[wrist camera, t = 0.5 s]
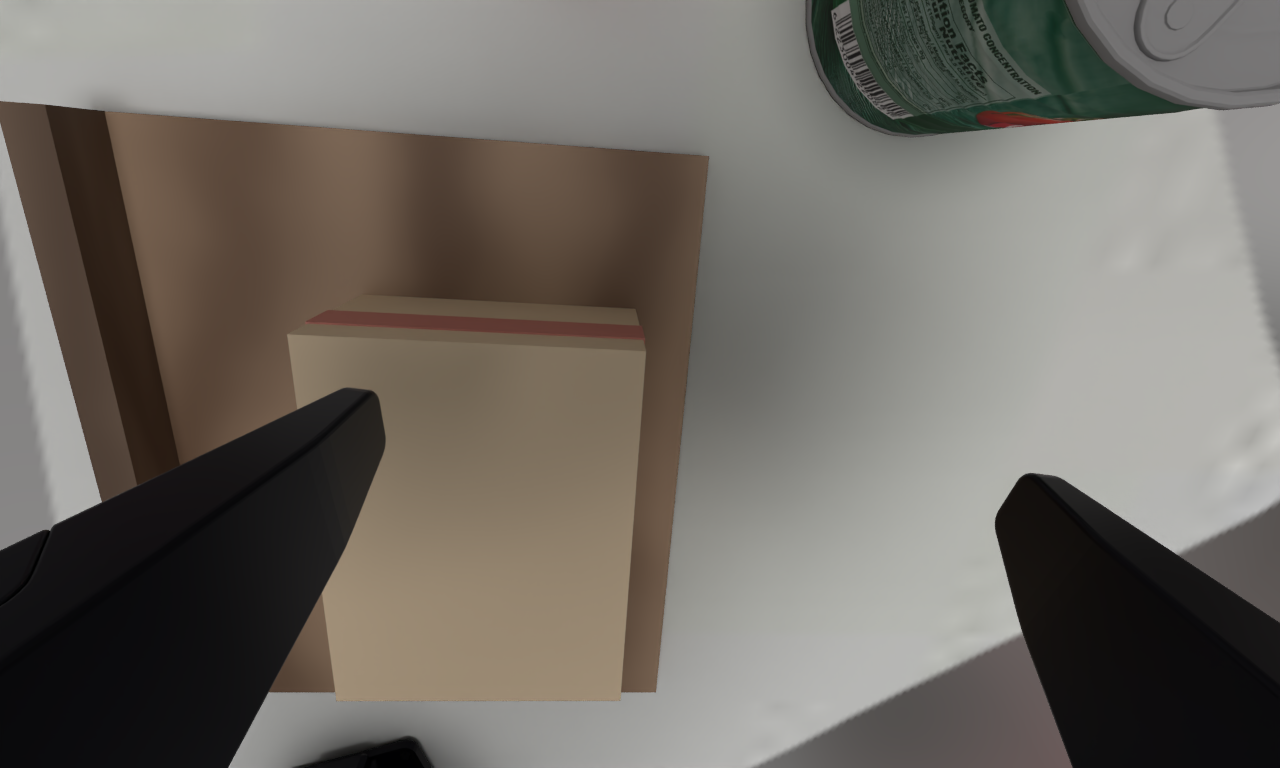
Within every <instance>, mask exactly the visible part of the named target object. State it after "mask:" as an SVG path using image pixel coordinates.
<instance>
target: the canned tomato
mask: <svg viewBox="0 0 1280 768" xmlns="http://www.w3.org/2000/svg"><path fill="white" fill-rule="evenodd" d="M806 26H807V32H808V38H809V44H810V50H811V54H812V57H813V59H814V62H815V65H816V68H817V71H818V73H819V76H820V78H821V79H822V81H823V83H824V84H825V86H826V88H827V89H828V91H829V93H830V94H831V96H832V97H833V98H834V99H835V100H836V102H837V103H838V104H839V105H840V106H841V107H842V108H843V109H844V110H845V111H846V112H847V113H848V114H849V115H851V116H852V117H854V118H855V119H857V120H858V121H860V122H861V123H863V124H864V125H865V126H867V127H870V128H872V129H875V130H878V131H880V132H883V133H886V134H889V135H897V136H905V137H921V136H932V135H937V134H944V133H955V132H966V131H977V130H988V129H999V128H1010V127H1021V126H1032V125H1043V124H1054V123H1065V122H1076V121H1087V120H1098V119H1109V118H1120V117H1131V116H1141V115H1153V114H1164V113H1175V112H1181V111H1187V110H1193V109H1200V108H1208V109H1215V110H1230V109H1241V108H1253V107H1264V106H1271V105H1275V104H1279V103H1280V0H807V3H806Z"/></svg>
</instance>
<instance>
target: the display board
mask: <svg viewBox="0 0 1280 768" xmlns="http://www.w3.org/2000/svg"><path fill="white" fill-rule="evenodd" d="M0 123H1V127H2V131H3V134H4V138H5V142H6V146H7V149H8V153H9V157H10V161H11V164H12V168H13V172H14V176H15V179H16V183H17V187H18V190H19V194H20V198H21V202H22V205H23V209H24V213H25V217H26V220H27V224H28V228H29V232H30V235H31V239H32V243H33V246H34V250H35V254H36V258H37V261H38V265H39V269H40V273H41V276H42V280H43V284H44V288H45V291H46V295H47V299H48V302H49V306H50V310H51V314H52V317H53V321H54V325H55V329H56V332H57V336H58V340H59V344H60V347H61V351H62V355H63V358H64V362H65V366H66V370H67V373H68V377H69V381H70V385H71V388H72V392H73V396H74V400H75V403H76V407H77V411H78V414H79V418H80V422H81V426H82V429H83V433H84V437H85V441H86V444H87V448H88V452H89V455H90V459H91V463H92V467H93V470H94V474H95V478H96V482H97V485H98V489H99V493H100V497H101V500H102V502H104V501H106V500H108V499H110V498H112V497H114V496H116V495H118V494H121V493H123V492H125V491H127V490H129V489H131V488H133V487H135V486H137V485H139V484H142V483H144V482H146V481H148V480H150V479H152V478H154V477H156V476H158V475H161V474H163V473H165V472H167V471H169V470H171V469H173V468H175V467H177V466H180V465H182V464H184V463H186V462H188V461H190V460H192V459H194V458H196V457H198V456H201V455H203V454H205V453H207V452H209V451H211V450H213V449H215V448H217V447H220V446H222V445H224V444H226V443H228V442H230V441H232V440H234V439H236V438H238V437H241V436H243V435H245V434H247V433H249V432H251V431H253V430H255V429H257V428H259V427H262V426H264V425H266V424H268V423H270V422H272V421H274V420H276V419H278V418H280V417H283V416H285V415H287V414H289V413H291V412H293V411H295V410H297V404H296V397H295V389H294V382H293V374H292V367H291V359H290V352H289V345H288V337H287V334H289V333H291V332H293V331H294V330H296V329H298V328H300V327H302V326H304V325H306V324H305V322H306V321H307V320H309V319H311V318H313V317H315V316H317V315H319V314H321V313H323V312H325V311H327V310H334V309H336V308H337V307H339V306H341V305H343V304H345V303H347V302H349V301H351V300H352V299H354V298H356V297H358V296H360V295H381V296H400V297H420V298H439V299H458V300H477V301H496V302H515V303H534V304H553V305H572V306H591V307H610V308H629V309H636V313H637V317H638V321H639V325H640V326H642V328H643V332H644V336H645V349H646V359H645V373H644V387H643V400H642V414H641V427H640V441H639V454H638V468H637V481H636V495H635V509H634V522H633V536H632V549H631V563H630V576H629V590H628V603H627V617H626V631H625V644H624V658H623V671H622V685H621V692H656V685H657V675H658V665H659V655H660V645H661V635H662V625H663V615H664V605H665V595H666V585H667V575H668V564H669V554H670V544H671V534H672V524H673V514H674V504H675V494H676V484H677V474H678V464H679V454H680V444H681V433H682V423H683V413H684V403H685V393H686V383H687V373H688V363H689V353H690V343H691V333H692V323H693V313H694V302H695V292H696V282H697V272H698V262H699V252H700V242H701V232H702V222H703V212H704V202H705V192H706V182H707V171H708V161H709V156H699V155H686V154H672V153H659V152H646V151H632V150H619V149H605V148H592V147H578V146H565V145H551V144H538V143H524V142H511V141H497V140H484V139H470V138H457V137H443V136H430V135H416V134H403V133H389V132H376V131H362V130H349V129H336V128H322V127H309V126H295V125H282V124H268V123H255V122H241V121H228V120H214V119H201V118H187V117H174V116H160V115H147V114H133V113H120V112H106V111H97V110H88V109H79V108H70V107H61V106H53V105H43V104H30V103H16V102H3V101H0ZM269 692H335V686H334V679H333V671H332V664H331V656H330V649H329V642H328V634H327V627H326V619H325V612H324V604H323V597H322V594H321V596H320V597H319V599H318V601H317V603H316V605H315V607H314V609H313V610H312V612H311V614H310V616H309V618H308V620H307V622H306V623H305V625H304V627H303V629H302V631H301V633H300V635H299V636H298V638H297V640H296V642H295V644H294V646H293V648H292V649H291V651H290V653H289V655H288V657H287V659H286V661H285V663H284V664H283V666H282V668H281V670H280V672H279V674H278V676H277V677H276V679H275V681H274V683H273V685H272V687H271V689H270V690H269Z"/></svg>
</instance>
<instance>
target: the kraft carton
mask: <svg viewBox="0 0 1280 768" xmlns="http://www.w3.org/2000/svg"><path fill="white" fill-rule="evenodd" d="M305 324H306V325H304V326H302V327H300V328H298V329H296V330H294V331H293V332H291V333H289V334H287V337H288V345H289V352H290V359H291V367H292V374H293V382H294V389H295V397H296V404H297V409H299V408H302V407H304V406H306V405H308V404H310V403H312V402H314V401H316V400H318V399H320V398H323V397H325V396H327V395H329V394H331V393H333V392H335V391H337V390H339V389H342V388H346V387H351V388H358V389H366V390H372V391H374V392H375V393H376V394H377V395H378V397H379V401H380V406H381V412H382V418H383V423H384V429H385V435H386V445H385V450H384V453H383V456H382V459H381V461H380V464H379V466H378V469H377V471H376V474H375V476H374V479H373V481H372V484H371V486H370V489H369V491H368V494H367V497H366V499H365V502H364V504H363V507H362V509H361V512H360V514H359V517H358V519H357V522H356V524H355V527H354V529H353V532H352V534H351V536H350V539H349V541H348V543H347V546H346V548H345V550H344V552H343V554H342V556H341V558H340V560H339V562H338V564H337V566H336V568H335V569H334V571H333V573H332V575H331V577H330V579H329V581H328V582H327V584H326V586H325V588H324V590H323V592H322V597H323V604H324V612H325V619H326V627H327V634H328V642H329V649H330V656H331V664H332V671H333V679H334V686H335V693H336V701H620V698H621V685H622V671H623V658H624V644H625V631H626V617H627V603H628V590H629V576H630V563H631V549H632V536H633V522H634V509H635V495H636V481H637V468H638V454H639V441H640V427H641V414H642V400H643V387H644V373H645V359H646V349H645V336H644V332H643V328H642V326H640V325H639V321H638V317H637V313H636V309H629V308H610V307H591V306H572V305H553V304H534V303H515V302H496V301H477V300H458V299H439V298H420V297H400V296H381V295H360V296H358V297H356V298H354V299H352V300H351V301H349V302H347V303H345V304H343V305H341V306H339V307H337V308H336V309H334V310H327V311H325V312H323V313H321V314H319V315H317V316H315V317H313V318H311V319H309V320H307V321H306V322H305Z"/></svg>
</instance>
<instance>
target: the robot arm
mask: <svg viewBox="0 0 1280 768" xmlns="http://www.w3.org/2000/svg"><path fill="white" fill-rule="evenodd" d="M385 445H386V435H385V429H384V423H383V418H382V412H381V406H380V401H379V397H378V395H377V394H376V393H375V392H374V391H372V390H366V389H358V388H351V387H346V388H342V389H339V390H337V391H335V392H333V393H331V394H329V395H327V396H325V397H323V398H320V399H318V400H316V401H314V402H312V403H310V404H308V405H306V406H304V407H302V408H299V409H297V410H295V411H293V412H291V413H289V414H287V415H285V416H283V417H280V418H278V419H276V420H274V421H272V422H270V423H268V424H266V425H264V426H262V427H259V428H257V429H255V430H253V431H251V432H249V433H247V434H245V435H243V436H241V437H238V438H236V439H234V440H232V441H230V442H228V443H226V444H224V445H222V446H220V447H217V448H215V449H213V450H211V451H209V452H207V453H205V454H203V455H201V456H198V457H196V458H194V459H192V460H190V461H188V462H186V463H184V464H182V465H180V466H177V467H175V468H173V469H171V470H169V471H167V472H165V473H163V474H161V475H158V476H156V477H154V478H152V479H150V480H148V481H146V482H144V483H142V484H139V485H137V486H135V487H133V488H131V489H129V490H127V491H125V492H123V493H121V494H118V495H116V496H114V497H112V498H110V499H108V500H106V501H104V502H102V503H99V504H97V505H95V506H93V507H91V508H89V509H87V510H85V511H83V512H81V513H78V514H76V515H74V516H72V517H70V518H68V519H66V520H64V521H62V522H59V523H57V524H55V525H54V526H53V527H52V528H51V531H49V530H42V531H40V532H38V533H36V534H34V535H32V536H30V537H28V538H26V539H24V540H22V541H19V542H17V543H15V544H13V545H11V546H9V547H7V548H5V549H3V550H1V551H0V768H228V767H229V765H230V763H231V761H232V759H233V757H234V756H235V754H236V752H237V750H238V748H239V746H240V744H241V743H242V741H243V739H244V737H245V735H246V733H247V731H248V730H249V728H250V726H251V724H252V722H253V720H254V718H255V717H256V715H257V713H258V711H259V709H260V707H261V705H262V703H263V702H264V700H265V698H266V696H267V694H268V692H269V690H270V689H271V687H272V685H273V683H274V681H275V679H276V677H277V676H278V674H279V672H280V670H281V668H282V666H283V664H284V663H285V661H286V659H287V657H288V655H289V653H290V651H291V649H292V648H293V646H294V644H295V642H296V640H297V638H298V636H299V635H300V633H301V631H302V629H303V627H304V625H305V623H306V622H307V620H308V618H309V616H310V614H311V612H312V610H313V609H314V607H315V605H316V603H317V601H318V599H319V597H320V596H321V594H322V592H323V590H324V588H325V586H326V584H327V582H328V581H329V579H330V577H331V575H332V573H333V571H334V569H335V568H336V566H337V564H338V562H339V560H340V558H341V556H342V554H343V552H344V550H345V548H346V546H347V543H348V541H349V539H350V536H351V534H352V532H353V529H354V527H355V524H356V522H357V519H358V517H359V514H360V512H361V509H362V507H363V504H364V502H365V499H366V497H367V494H368V491H369V489H370V486H371V484H372V481H373V479H374V476H375V474H376V471H377V469H378V466H379V464H380V461H381V459H382V456H383V453H384V450H385ZM995 530H996V535H997V539H998V543H999V546H1000V550H1001V554H1002V558H1003V562H1004V566H1005V570H1006V573H1007V577H1008V581H1009V585H1010V589H1011V593H1012V597H1013V601H1014V604H1015V608H1016V612H1017V616H1018V619H1019V623H1020V626H1021V629H1022V633H1023V636H1024V638H1025V641H1026V644H1027V647H1028V650H1029V653H1030V655H1031V658H1032V660H1033V663H1034V666H1035V668H1036V671H1037V674H1038V676H1039V679H1040V682H1041V685H1042V687H1043V690H1044V693H1045V695H1046V698H1047V700H1048V703H1049V706H1050V709H1051V711H1052V714H1053V716H1054V719H1055V722H1056V725H1057V727H1058V730H1059V733H1060V735H1061V738H1062V741H1063V743H1064V746H1065V749H1066V751H1067V754H1068V757H1069V759H1070V762H1071V765H1072V767H1073V768H1280V623H1279V622H1278V621H1276V620H1275V619H1273V618H1272V617H1270V616H1269V615H1267V614H1266V613H1264V612H1263V611H1261V610H1260V609H1258V608H1256V607H1255V606H1253V605H1252V604H1251V603H1249V602H1247V601H1246V600H1244V599H1243V598H1242V597H1240V596H1238V595H1237V594H1235V593H1234V592H1233V591H1231V590H1229V589H1228V588H1226V587H1225V586H1223V585H1222V584H1220V583H1219V582H1217V581H1216V580H1214V579H1213V578H1211V577H1210V576H1208V575H1207V574H1205V573H1204V572H1202V571H1201V570H1199V569H1198V568H1196V567H1195V566H1193V565H1192V564H1190V563H1189V562H1187V561H1185V560H1184V559H1183V558H1181V557H1180V556H1178V555H1177V554H1175V553H1174V552H1172V551H1171V550H1169V549H1168V548H1166V547H1164V546H1163V545H1161V544H1160V543H1158V542H1157V541H1155V540H1154V539H1152V538H1151V537H1149V536H1148V535H1146V534H1145V533H1143V532H1142V531H1140V530H1139V529H1137V528H1136V527H1134V526H1133V525H1131V524H1130V523H1128V522H1127V521H1125V520H1124V519H1122V518H1121V517H1119V516H1118V515H1116V514H1115V513H1113V512H1112V511H1110V510H1109V509H1107V508H1106V507H1104V506H1103V505H1101V504H1099V503H1098V502H1096V501H1095V500H1093V499H1092V498H1090V497H1089V496H1087V495H1086V494H1084V493H1083V492H1081V491H1080V490H1078V489H1077V488H1075V487H1074V486H1072V485H1071V484H1069V483H1068V482H1066V481H1065V480H1063V479H1061V478H1059V477H1056V476H1052V475H1044V474H1036V473H1028V474H1025V475H1023V476H1022V477H1020V478H1019V480H1018V481H1017V482H1016V484H1015V486H1014V487H1013V489H1012V490H1011V492H1010V493H1009V495H1008V497H1007V498H1006V500H1005V501H1004V503H1003V504H1002V506H1001V507H1000V509H999V511H998V513H997V515H996V519H995ZM305 768H431V766H430V764H429V763H428V761H427V759H426V758H425V756H424V754H423V753H422V751H421V749H420V747H419V746H418V744H417V743H416V742H414V741H411V740H403V741H399V742H396V743H392V744H388V745H385V746H381V747H377V748H374V749H370V750H366V751H363V752H359V753H356V754H352V755H348V756H345V757H341V758H337V759H334V760H330V761H326V762H323V763H319V764H316V765H312V766H308V767H305Z"/></svg>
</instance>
